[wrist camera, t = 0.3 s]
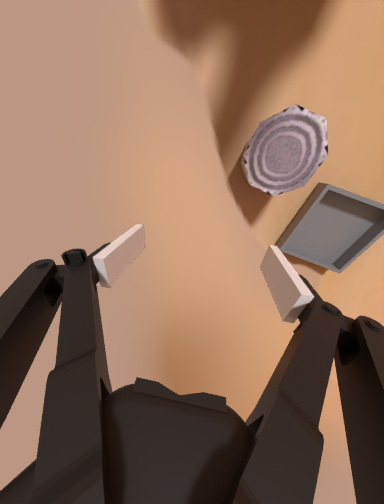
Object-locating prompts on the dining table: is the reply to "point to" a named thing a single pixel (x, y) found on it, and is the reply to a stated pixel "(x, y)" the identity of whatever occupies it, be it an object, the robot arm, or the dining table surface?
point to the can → (285, 151)
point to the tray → (333, 228)
